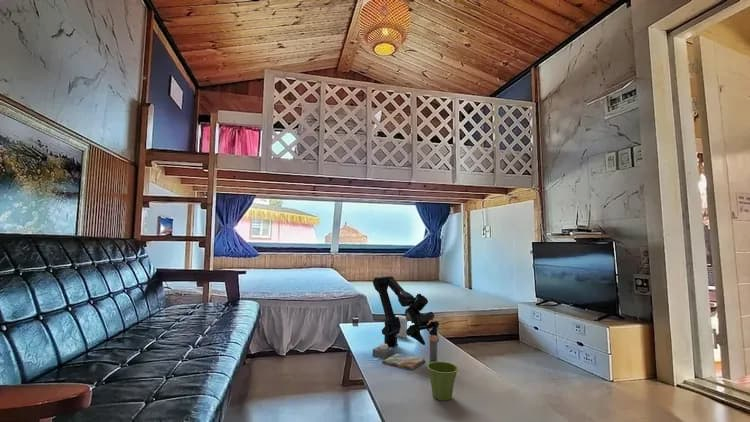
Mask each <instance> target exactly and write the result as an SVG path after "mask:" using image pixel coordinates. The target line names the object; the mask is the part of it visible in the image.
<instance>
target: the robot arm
mask: <svg viewBox="0 0 750 422" xmlns="http://www.w3.org/2000/svg"><path fill="white" fill-rule="evenodd" d="M372 284H373V285H372V286H373V287H374V289H375V291H376V292H377V293H378V295H379V298H380V302H381V305H382V308H383V313H384V316H385V320H384V322H383V324H384V327H383V328H382V329H381V334H382V335H383V336H384V337H383V339H384V342H383V344H388V347H391V348H395V347H396V346H398V345H399V343H398V336H397V334H399V332H400V328H401V325H400V324H401V323H400V320H399V317H396V316H395V315H396V314H395V313H394V309H393V307H392V304H391V303H392V302H391V300H390V296H389V292H388V288H390V289H391V291H392V292H393V294H394V295H395V296H397V301H398V303H399V304H400V306H401V307H403V308H404V307H405V311H404V314H405V315H409V317H410V319H411V320H410V322H411V325H409V326H408V327H407V330H406V333H407V337H410V338H413V339H414V340H415V341H417V342H418V343H420V344H421V345H423V346H426V342H425V340H424V337H423V336H422V333H421V331H423V330H424V331H425V330H427V331H428V334H429V336H431V335H435V336H437V337H438V341H437V343H439V341H440V339H439V336H438V328H439V326H440V323H439V321H438V320H434V318H435V314H434V313H433V311H429V312H427V313H424V314H423V313H421V311H423V310H424V308H425V307H426V306H427V305H428V302H429V301H428V298H427V297H426V296H424V295H422V294H421V293H417V294H416V296H414V295H413V294H411V293H410V292H408V291H406V290H404V289H403V287H402V286H401V285H400V284H399V282H398V281H396V280H395V277H394V276H393V275H389V276H378V277H373V280H372ZM429 321H430V322H429Z"/></svg>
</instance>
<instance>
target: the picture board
mask: <svg viewBox="0 0 750 422" xmlns="http://www.w3.org/2000/svg"><path fill="white" fill-rule="evenodd" d="M425 362H426V359H424V358H420V357H415V356H410V355H405V354H402V353H394V354H393V355H391V356H390V357H388V358H384V359H383V360H382V361H381V364H383V363H384V365H388V366H393V367H397V368H401V369H404V370H405V369H406V370H409V371H413V370H415V369H416V368H418V367H419V366H421V365H422V364H424V363H425Z"/></svg>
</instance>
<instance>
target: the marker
mask: <svg viewBox="0 0 750 422" xmlns="http://www.w3.org/2000/svg"><path fill="white" fill-rule="evenodd" d="M438 339H439V336H438V337H437V336H435V335H429V363H431V362H438V342H439V341H438ZM437 341H438V342H437Z"/></svg>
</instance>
